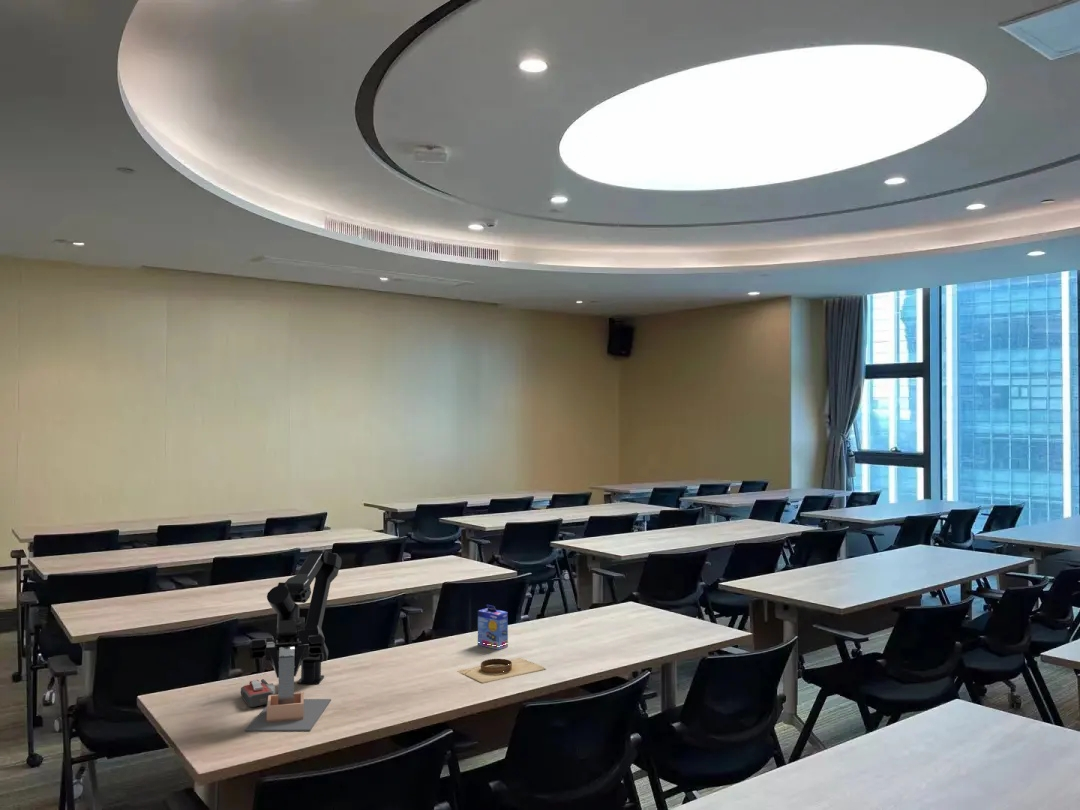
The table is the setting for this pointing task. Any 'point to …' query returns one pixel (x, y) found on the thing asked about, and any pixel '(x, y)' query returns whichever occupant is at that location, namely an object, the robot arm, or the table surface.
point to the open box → (285, 709)
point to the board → (500, 669)
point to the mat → (310, 717)
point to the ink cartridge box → (492, 627)
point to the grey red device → (257, 692)
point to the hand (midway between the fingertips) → (286, 676)
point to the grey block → (286, 675)
